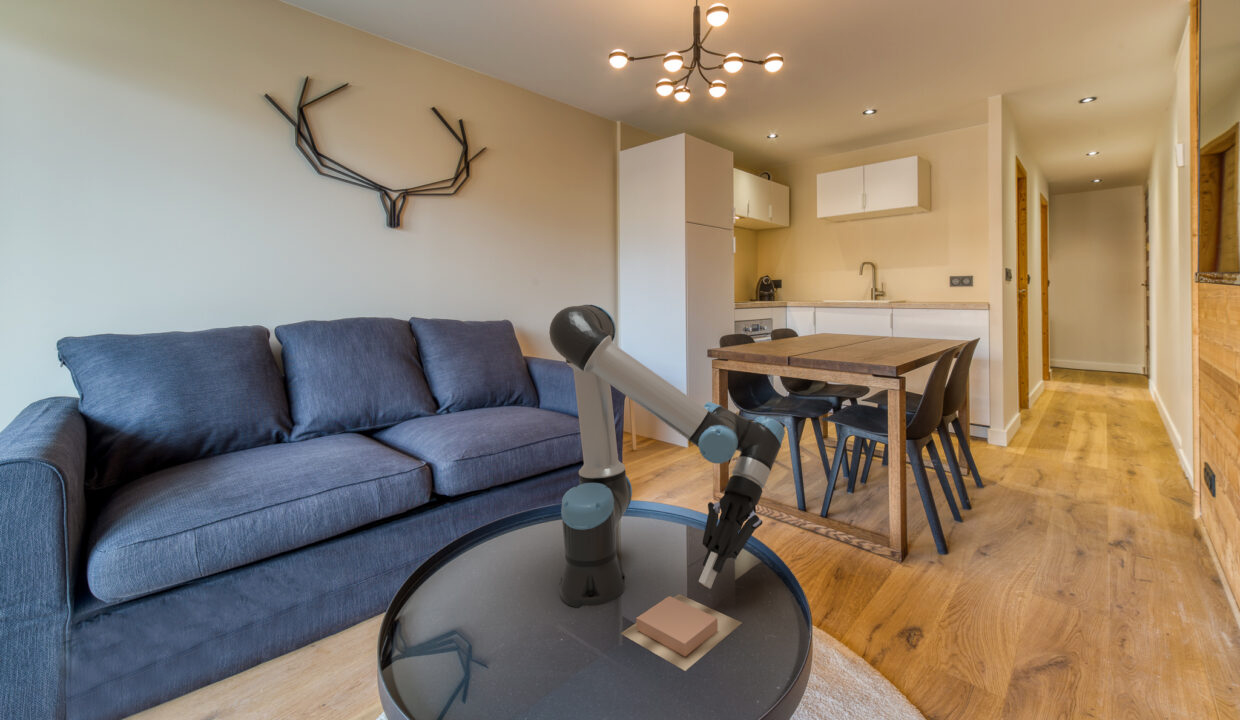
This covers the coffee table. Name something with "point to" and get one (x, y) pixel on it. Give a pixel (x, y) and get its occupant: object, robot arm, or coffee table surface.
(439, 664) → the coffee table surface
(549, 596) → the coffee table surface
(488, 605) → the coffee table surface
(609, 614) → the coffee table surface
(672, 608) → the terracotta tile
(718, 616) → the oak board
